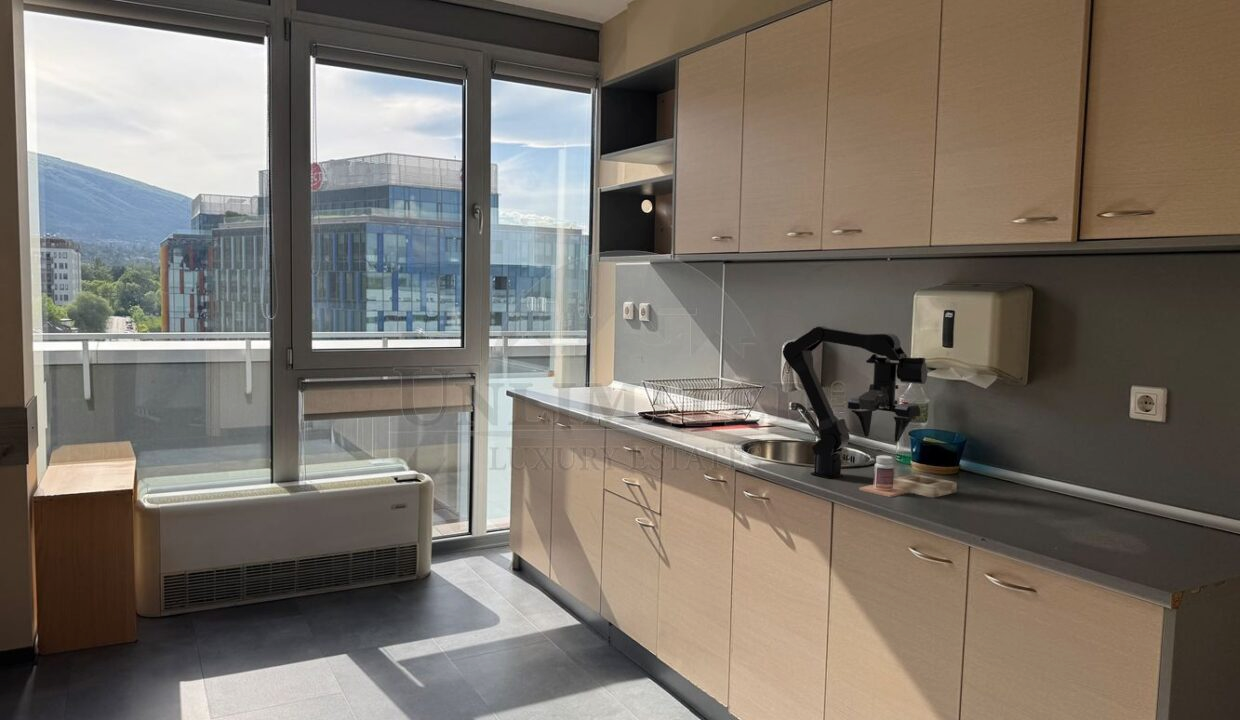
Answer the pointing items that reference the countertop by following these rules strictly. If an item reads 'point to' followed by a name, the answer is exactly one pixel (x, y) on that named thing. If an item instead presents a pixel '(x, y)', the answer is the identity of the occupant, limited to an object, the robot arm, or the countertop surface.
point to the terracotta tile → (885, 493)
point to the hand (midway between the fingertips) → (881, 439)
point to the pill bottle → (883, 473)
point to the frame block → (924, 485)
